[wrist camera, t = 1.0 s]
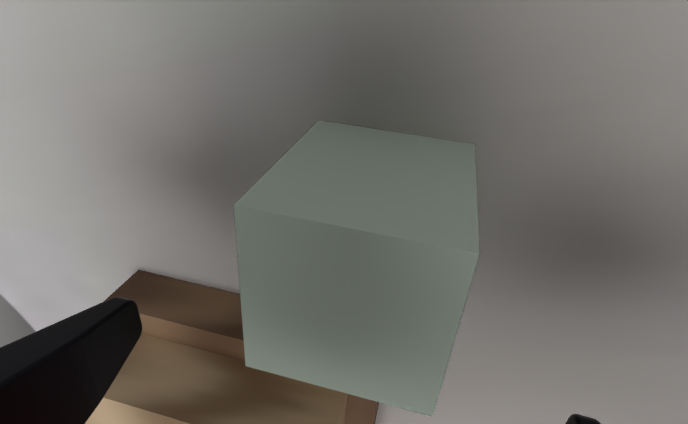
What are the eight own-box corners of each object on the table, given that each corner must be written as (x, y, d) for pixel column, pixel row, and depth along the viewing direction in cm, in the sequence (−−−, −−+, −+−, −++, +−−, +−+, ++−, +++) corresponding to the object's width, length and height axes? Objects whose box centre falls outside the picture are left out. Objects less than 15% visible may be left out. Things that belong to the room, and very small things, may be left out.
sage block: (474, 143, 13) (480, 253, 8) (443, 271, 15) (432, 416, 10) (319, 119, 14) (233, 204, 9) (313, 244, 16) (245, 365, 11)
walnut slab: (394, 320, 18) (381, 376, 15) (366, 470, 24) (354, 528, 22) (147, 261, 20) (101, 303, 18) (180, 413, 26) (149, 460, 24)
